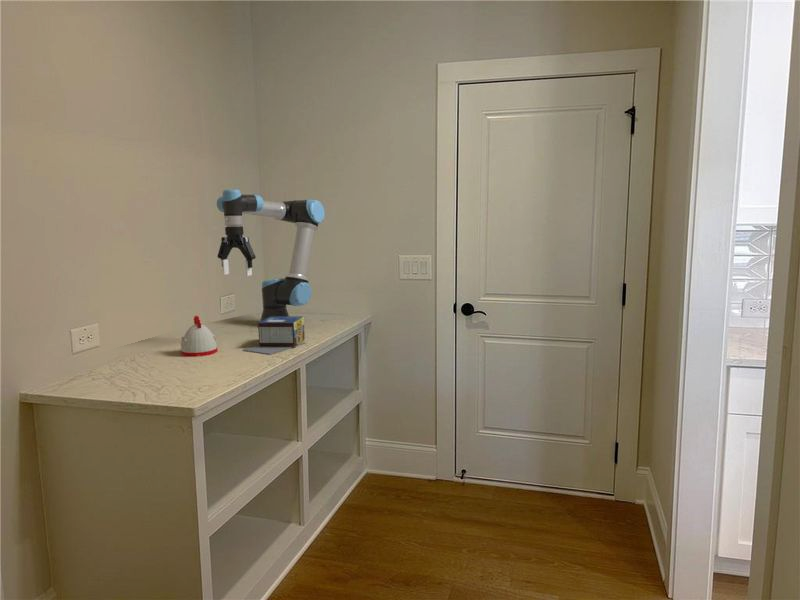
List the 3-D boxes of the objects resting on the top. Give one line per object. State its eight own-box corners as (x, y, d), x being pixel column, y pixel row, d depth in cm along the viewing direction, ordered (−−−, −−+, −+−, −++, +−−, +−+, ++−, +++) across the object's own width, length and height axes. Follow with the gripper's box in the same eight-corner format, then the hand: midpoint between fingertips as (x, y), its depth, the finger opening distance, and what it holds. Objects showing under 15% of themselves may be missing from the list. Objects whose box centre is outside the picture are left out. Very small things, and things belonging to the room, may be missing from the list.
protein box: (271, 338, 240) (305, 339, 239) (258, 346, 225) (295, 347, 224) (270, 315, 239) (304, 315, 237) (257, 322, 224) (294, 322, 222)
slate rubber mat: (279, 339, 240) (279, 339, 239) (306, 343, 232) (306, 342, 232) (242, 350, 221) (242, 349, 221) (270, 354, 213) (270, 353, 213)
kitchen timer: (212, 346, 228) (210, 312, 226) (221, 353, 217) (219, 316, 215) (177, 351, 221) (175, 315, 218) (185, 358, 209) (183, 320, 207)
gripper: (206, 226, 235) (210, 274, 239) (249, 226, 223) (252, 276, 227) (219, 225, 242) (223, 272, 245) (261, 225, 230) (265, 274, 234)
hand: (237, 274), depth 236 cm, fingers open, 13 cm apart
